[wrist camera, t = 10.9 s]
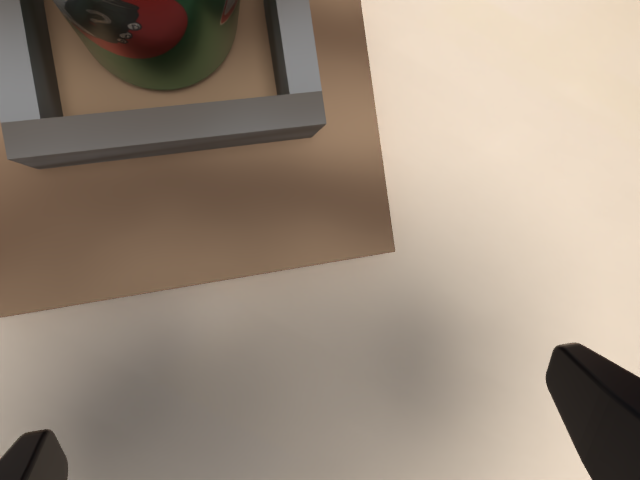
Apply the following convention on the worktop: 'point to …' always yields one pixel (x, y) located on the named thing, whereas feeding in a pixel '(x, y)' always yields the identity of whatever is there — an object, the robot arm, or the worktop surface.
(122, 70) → the soda can
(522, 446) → the worktop surface
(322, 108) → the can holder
